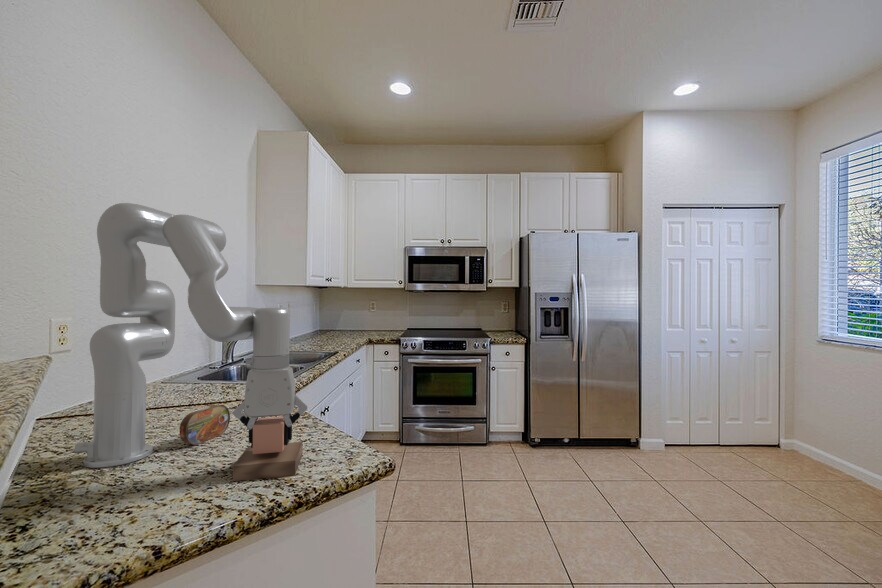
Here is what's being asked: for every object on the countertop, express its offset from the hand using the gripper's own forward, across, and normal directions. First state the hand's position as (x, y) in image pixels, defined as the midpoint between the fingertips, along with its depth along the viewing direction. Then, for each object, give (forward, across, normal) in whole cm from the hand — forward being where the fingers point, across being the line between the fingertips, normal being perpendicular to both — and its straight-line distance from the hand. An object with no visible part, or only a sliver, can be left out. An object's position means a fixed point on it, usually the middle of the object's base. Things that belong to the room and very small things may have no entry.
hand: (270, 443), depth 86 cm
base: (+5, 0, 0) cm, 5 cm away
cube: (+1, 0, 0) cm, 1 cm away
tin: (+5, -21, +24) cm, 32 cm away
